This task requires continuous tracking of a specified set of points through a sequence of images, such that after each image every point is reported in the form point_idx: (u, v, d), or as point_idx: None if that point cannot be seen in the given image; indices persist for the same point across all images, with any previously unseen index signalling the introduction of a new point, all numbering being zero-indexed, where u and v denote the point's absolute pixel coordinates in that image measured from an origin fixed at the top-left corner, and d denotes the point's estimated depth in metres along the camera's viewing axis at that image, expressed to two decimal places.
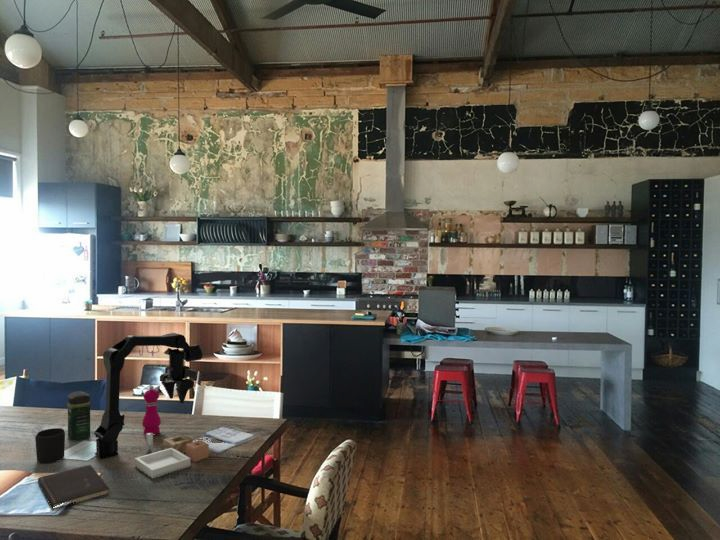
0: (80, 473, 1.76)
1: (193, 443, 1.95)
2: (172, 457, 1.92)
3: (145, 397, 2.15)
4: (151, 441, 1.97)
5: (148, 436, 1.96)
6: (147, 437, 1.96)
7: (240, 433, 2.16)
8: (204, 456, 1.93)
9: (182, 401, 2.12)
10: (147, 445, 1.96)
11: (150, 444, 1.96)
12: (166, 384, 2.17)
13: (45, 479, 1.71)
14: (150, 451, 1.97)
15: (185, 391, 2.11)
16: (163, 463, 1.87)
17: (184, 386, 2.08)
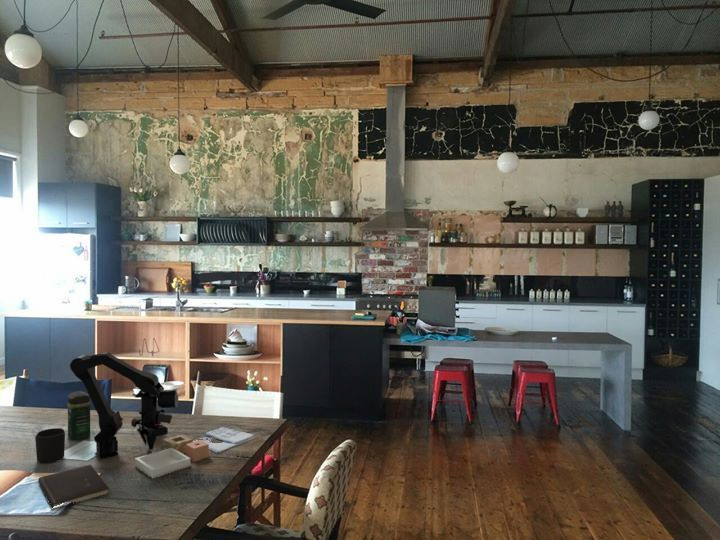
0: (80, 473, 1.76)
1: (193, 443, 1.95)
2: (172, 457, 1.92)
3: None
4: None
5: None
6: None
7: (240, 433, 2.16)
8: (204, 456, 1.93)
9: (151, 447, 1.96)
10: (147, 445, 1.96)
11: None
12: (142, 432, 1.97)
13: (45, 479, 1.71)
14: (150, 451, 1.97)
15: (154, 436, 1.96)
16: (163, 463, 1.87)
17: (156, 434, 1.90)
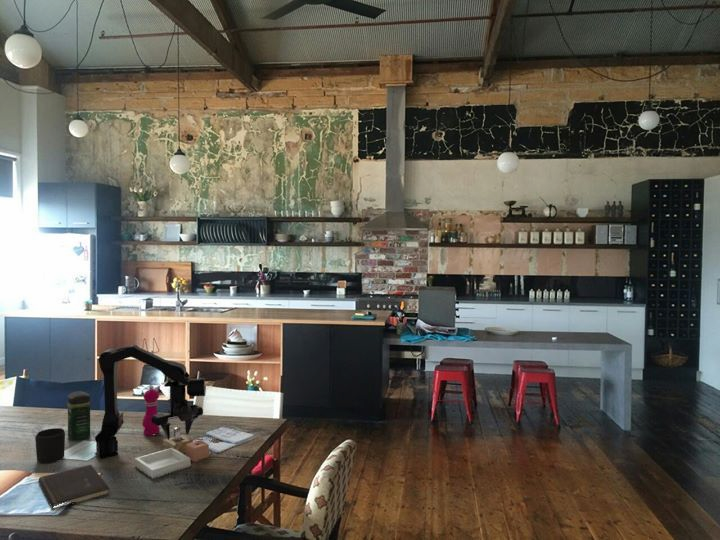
0: (80, 473, 1.76)
1: (193, 443, 1.95)
2: (172, 457, 1.92)
3: (145, 397, 2.15)
4: (174, 436, 1.99)
5: None
6: None
7: (240, 433, 2.16)
8: (204, 456, 1.93)
9: (167, 437, 1.97)
10: None
11: (174, 438, 1.99)
12: None
13: (45, 478, 1.71)
14: None
15: None
16: (163, 463, 1.87)
17: (152, 420, 1.94)
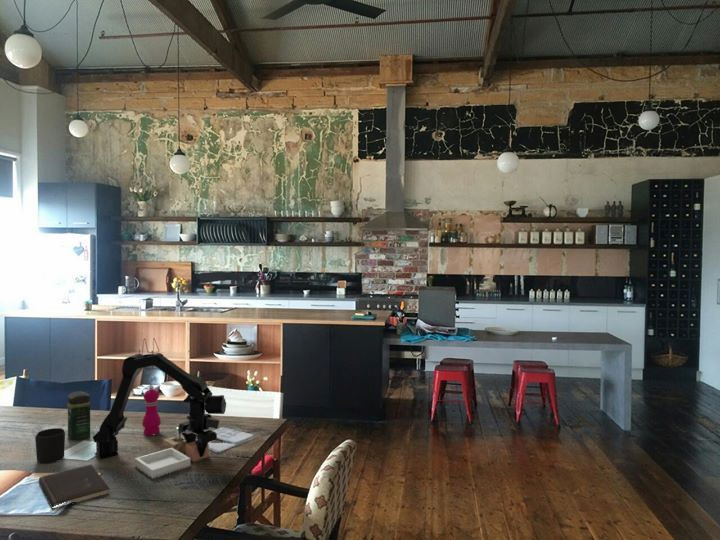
0: (80, 472, 1.76)
1: (193, 443, 1.95)
2: (172, 457, 1.92)
3: (145, 397, 2.15)
4: (176, 435, 2.00)
5: None
6: None
7: (240, 433, 2.16)
8: (204, 456, 1.93)
9: (202, 454, 1.92)
10: None
11: (175, 437, 2.00)
12: (187, 436, 1.95)
13: (46, 478, 1.71)
14: None
15: (205, 443, 1.92)
16: (163, 463, 1.87)
17: (206, 440, 1.87)
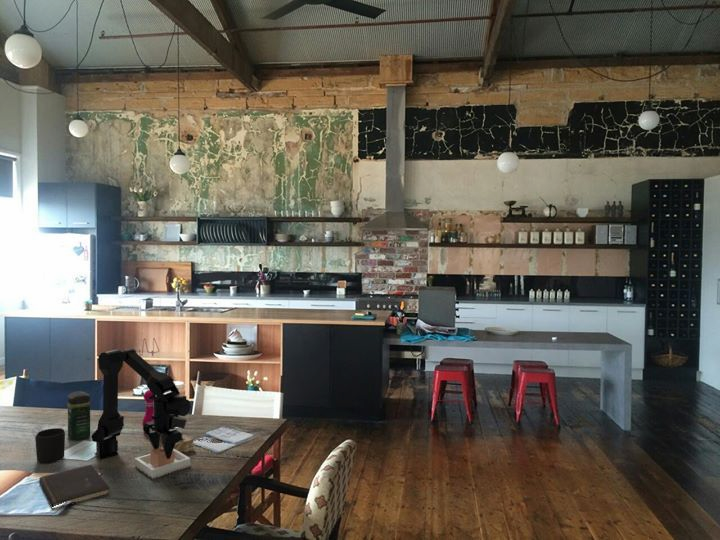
0: (81, 472, 1.76)
1: (158, 449, 1.86)
2: None
3: (145, 397, 2.15)
4: None
5: None
6: None
7: (240, 433, 2.16)
8: (169, 463, 1.84)
9: (168, 456, 1.82)
10: None
11: None
12: (150, 435, 1.87)
13: (46, 478, 1.71)
14: None
15: (172, 445, 1.82)
16: None
17: (170, 440, 1.78)
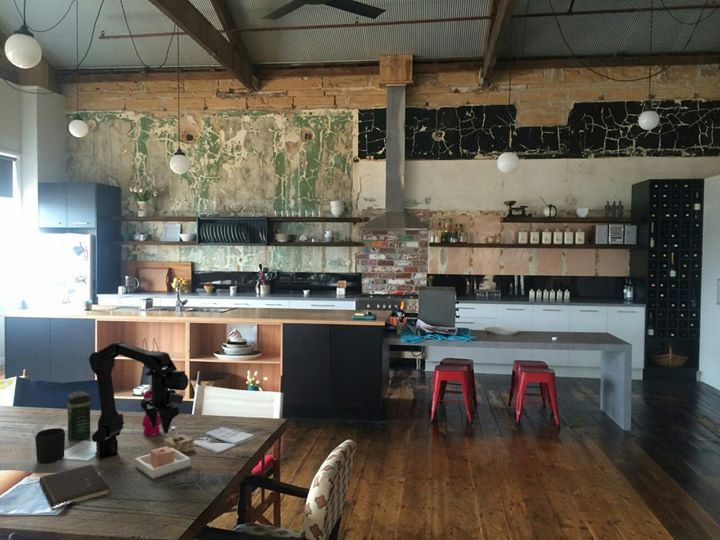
0: (81, 472, 1.76)
1: (158, 449, 1.86)
2: None
3: (145, 397, 2.15)
4: (172, 435, 2.00)
5: None
6: None
7: (240, 433, 2.16)
8: (169, 463, 1.84)
9: (166, 431, 1.85)
10: None
11: None
12: (148, 411, 1.90)
13: (46, 478, 1.71)
14: None
15: (169, 419, 1.85)
16: None
17: (168, 414, 1.81)
